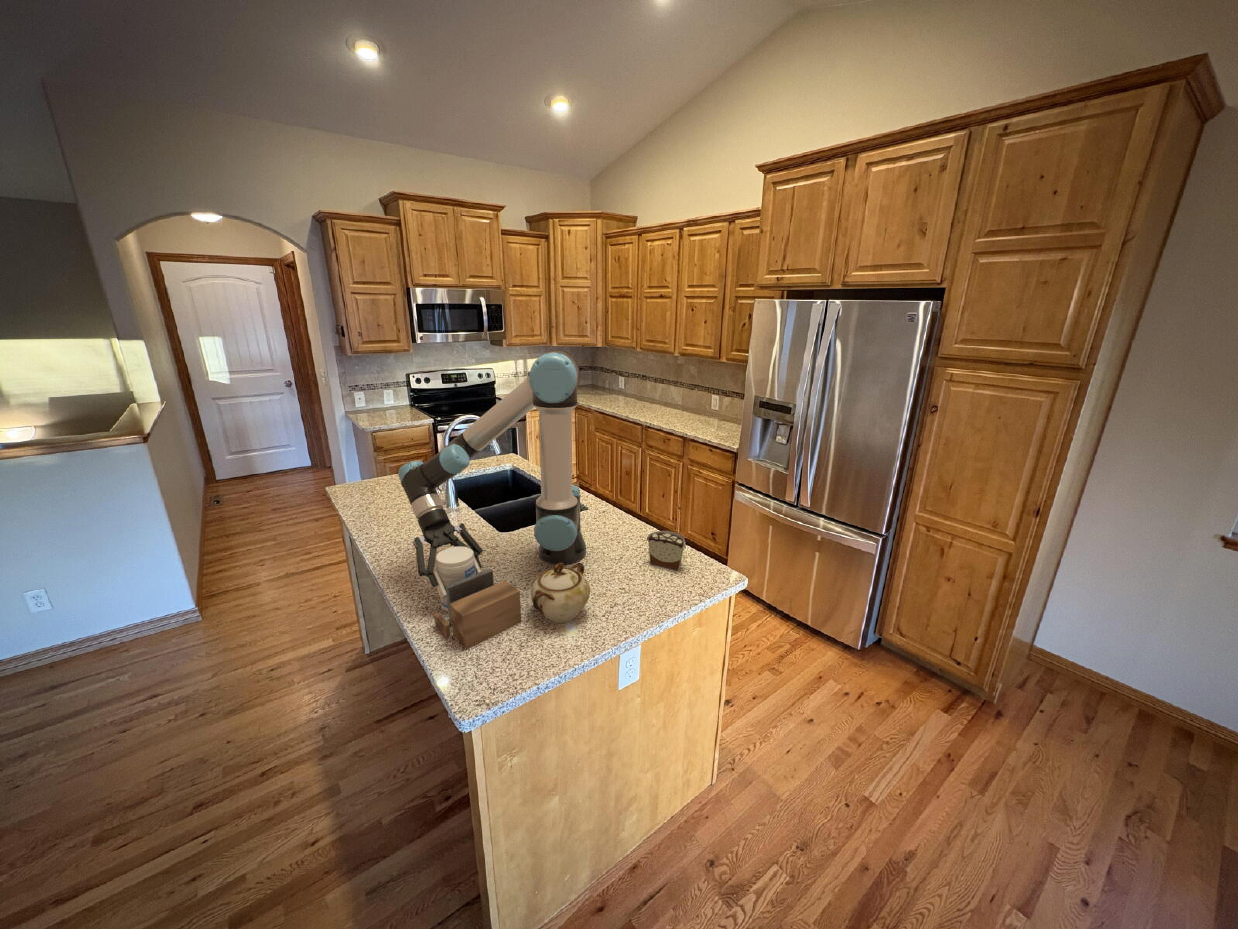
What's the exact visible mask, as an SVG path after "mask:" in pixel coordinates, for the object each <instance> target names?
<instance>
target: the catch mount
mask: <svg viewBox="0 0 1238 929" xmlns="http://www.w3.org/2000/svg"><path fill="white" fill-rule="evenodd" d="M449 605H450V614H451V622H450V623H449V622H448V621H447V620H446V619H445V618H444V617H443V616H442V615H441V614H440V613H439V612H437V613H434V614H433V617H434V624H435V625H434V626H435V628H436V629H437V630H438V631H439V632H440V633H441V634H442V635H443V636H444V637H445V638H446V639H449V638H451V637H452V636H453V638H454V639H455V640H456V641H457V642H458V643H459V644H460V645H461V646H462V647H463V648H464V649H465V650H468V649H470V648H473V647H474V646H476V645H478V644H481V643H483V642H485V641H487V640H489V639H491V638H492V637H495V636H497V635H499V634H501V633H503V632H505V631H507V630H509V629H511V628H512V627H515V626H517V625H519V624H521V623H522V611H521V610H522V609H521V608H522V607H521V592H520V590H519V589H517V588H516V587H515V586H513V585H512V584H511V583H510V582H508V581H507V580H503V581H501V582H498V583H496V584H494V585H493V586H491V587H488V588H486V589H484V590H481V591H479V592H476V593H474V594H472V595H469V596H467V597H464V598H462V599H460V600H457V601H455V602H453V603H450V604H449ZM450 624H451V627H450ZM451 630H452V635H451Z"/></svg>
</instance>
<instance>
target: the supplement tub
mask: <svg viewBox="0 0 1238 929" xmlns="http://www.w3.org/2000/svg"><path fill="white" fill-rule="evenodd" d="M468 547H469V546H468ZM468 547H454V546H451V547H448V548H445V549H443V550H441V551H440V552H438V553H436V557H435V566H436V571H437V572H438V574H439V577H440V579H441V581H442V584H443V586H444V588H445V591H446V585H449V584H451V583H454V582H456V581H459V580H462V579H464V578H467V577H469V576H472V575H474V574H476V569H475V558H474V553H473V550H472V549H470V547H469V548H468ZM439 602H440V606H441V608H442V609H443V610H444V611H446V612H448V604H447V595H446V596H445V598H442V599H441V596H440V595H439Z"/></svg>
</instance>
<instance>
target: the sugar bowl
mask: <svg viewBox="0 0 1238 929" xmlns="http://www.w3.org/2000/svg"><path fill="white" fill-rule="evenodd" d="M584 573H585V565H584V563H582V562H577V563H575V564H573V565H572V566H570V567H565V565H564V564H563V563H558V564H555V566H554V568H551V569H548V570H545V571H544V572H542V573H541V574H540V575H539V576H538V577H537V578H536V579H535V581H534V582H533V584H532V586H531V590H530V599H531V601H532V605H533V608H534V609H535V610H537V611H538V612H539V613H540V614H541V615H543V616H544V617H546V618H547V620H548V621H550V622H553V623H556V624H563V623H567V622H571V621H572V620H573V619H575V618H576V617H577V616H578V614H579V613H580V612H581V611H582V610H583V609H584V608H585V605H586V604H587V603H588V600H589V598H590V595H591V588H590V587H591V586H590V584H589V582H588V580H587V578H586V577H585V576H584Z"/></svg>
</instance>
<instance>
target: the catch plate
mask: <svg viewBox="0 0 1238 929" xmlns="http://www.w3.org/2000/svg"><path fill="white" fill-rule="evenodd" d="M493 585H495V582H494V571H493V570H492V569H491V568H488V569H485V570H481V572H479V573H477V574H474V575H472V576H469V577H467V578H464V579H462V580H459V581H456V582H454V583H451V584H449V585H446V595H447V604H448V611H447V612H448V620H449V622H450V623H451V614H450V605H449V604H450V603H453V602H455V601H457V600H460V599H462V598H464V597H467V596H469V595H472V594H474V593H476V592H479V591H481V590H484V589H486V588H488V587H491V586H493Z"/></svg>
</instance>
